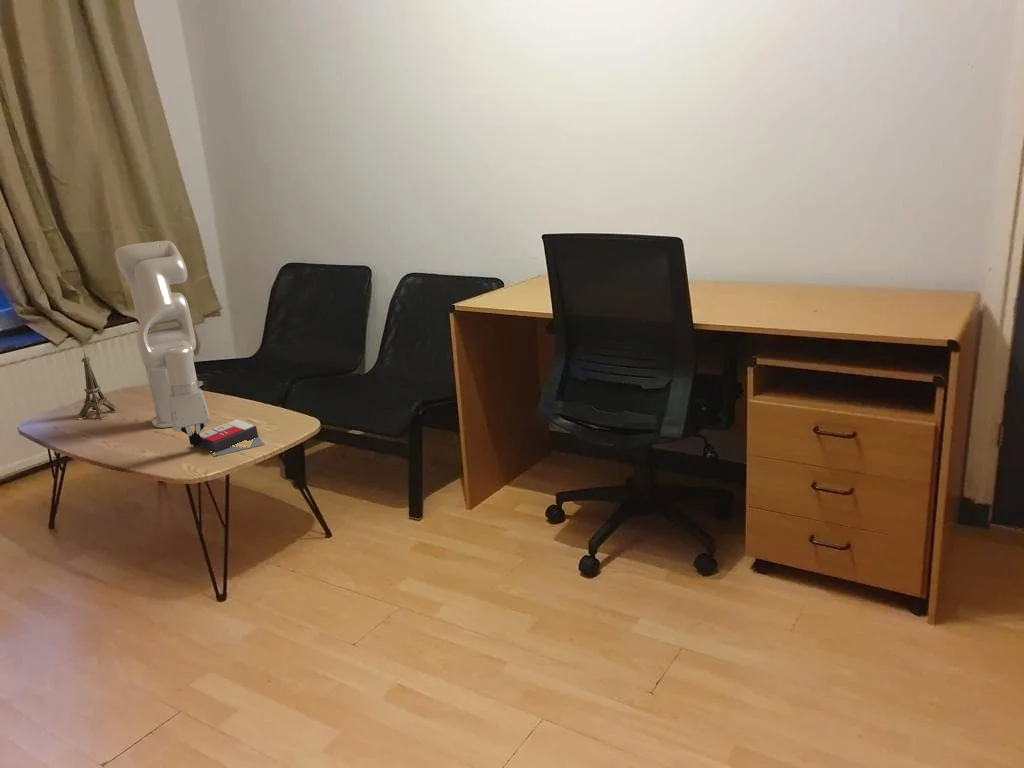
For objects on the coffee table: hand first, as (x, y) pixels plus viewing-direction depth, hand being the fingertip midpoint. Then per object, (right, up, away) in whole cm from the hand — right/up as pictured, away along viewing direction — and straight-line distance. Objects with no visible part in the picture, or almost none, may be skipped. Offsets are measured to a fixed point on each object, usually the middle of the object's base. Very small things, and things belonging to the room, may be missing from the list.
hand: (196, 445), depth 241 cm
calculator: (+7, +1, +6) cm, 10 cm away
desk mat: (+10, +1, +5) cm, 11 cm away
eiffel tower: (-50, +8, +40) cm, 65 cm away
